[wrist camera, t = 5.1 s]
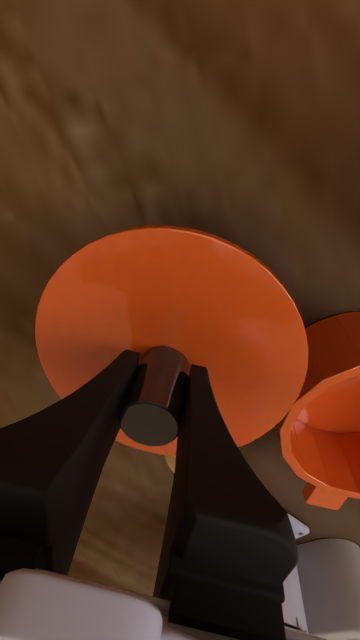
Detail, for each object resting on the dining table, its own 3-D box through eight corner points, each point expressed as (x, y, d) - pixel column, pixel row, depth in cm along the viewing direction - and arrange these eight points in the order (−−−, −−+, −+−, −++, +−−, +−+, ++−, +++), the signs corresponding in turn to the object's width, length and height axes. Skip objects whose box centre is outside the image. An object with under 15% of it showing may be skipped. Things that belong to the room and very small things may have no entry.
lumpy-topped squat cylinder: (395, 576, 34) (443, 698, 26) (294, 600, 40) (310, 706, 32) (340, 530, 31) (376, 651, 24) (241, 563, 37) (244, 669, 29)
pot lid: (51, 412, 18) (2, 487, 14) (40, 192, 12) (-51, 214, 8) (256, 459, 17) (265, 549, 14) (352, 257, 12) (416, 313, 8)
